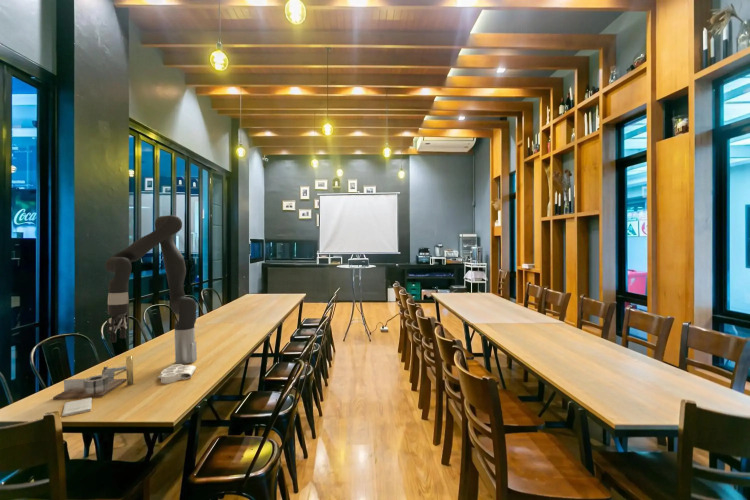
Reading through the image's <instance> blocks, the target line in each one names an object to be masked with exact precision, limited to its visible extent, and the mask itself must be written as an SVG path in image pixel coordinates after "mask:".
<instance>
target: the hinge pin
mask: <svg viewBox="0 0 750 500" xmlns="http://www.w3.org/2000/svg"><path fill="white" fill-rule="evenodd" d="M125 363H126V365H125V366H126V369H125V372H126V386H131V385H132V386H133V385H134V364H133V363H134V358H133V355H129V356H126V357H125Z"/></svg>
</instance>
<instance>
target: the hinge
mask: <svg viewBox="0 0 750 500" xmlns="http://www.w3.org/2000/svg"><path fill="white" fill-rule="evenodd" d="M114 374H115V373H114V369H111V370H109V371H107V372H105V373H104V374H102V373H101V374H98V375H96V374H95V375H92V376H89V377H86V378H69V379H67V378H66V379H64V380H63V391H64V392H80V391H84V393H85V394H94V393H100V392H103V391H106V390H107V389H109V383H110V382H111V381H113V380H114V379H115V377H114V376H115V375H114Z"/></svg>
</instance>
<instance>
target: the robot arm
mask: <svg viewBox="0 0 750 500" xmlns="http://www.w3.org/2000/svg"><path fill="white" fill-rule="evenodd" d="M182 227H183V222H182V219H181V218H180V217H179V216H177V215H173V214H171V215H161V216H158V217H157V218H156V220H155V222H154V228H155V230H153V231H152V232H150V233H148V234H145V235H144V236H142V237H140V238H138V239H137V240H135V241H134V242H132V243H131V244H129V246H127V247H126V248H125V249H122V250H121V251H119V252H117V253H115V254H113V255H112V256H111V257H109V258H108V259H107V260H106V261H105V265H104V268H105V270H106V272H109V273H111V274H114V276H113V279H110V280H109V281H108V293H107V294H108V295H107V315H109V316H111V318H106V332H105V333H107V334H109V342H110V343H111V344H112V343H113V344H114V343H116V342H117V331H118V329H119V339H125V338H126V337H127V334H126V333H127V331H126V330H127V329H128V328H129V323H130V321H129V320H130V319H129V316H130V315H129V288H128V287H129V280H130V277H131V273H132V267H133V265H132V262H133V263H134V262H137V261H138V260H140V259H142V257H144V256H145V255H146V254H148V253H149V252H150V251H151V250H153V248H155V247H156V246H157V245H160V249H161V253H162V257H163V265H164V269H165V274H166V280H167V285H168V288H169V289H168V291H169V304H170V305H169V306H170V308H171V311H172V313H174V314H175V315H178V321H177V322H176V323H174V327H173V328H174V357H175V358H174V362H175V364H182V365H187V364H193V363H195V361H197V359H198V357H197V355H198V354H197V353H198V352H197V341H195V339H196V337H195V336H196V334H195V331H196V330H195V324H196V321H197V303H196V301H195V299H193V298H191V297H186V294H185V290H184V283H185V279H186V275H187V267H186V261H185V259H184V256H183V254H182V252H181V251H180V250H179V248H178V247H177V246H176V244H175V240H174V235H176V234H177V233H179V232H180V231H181V230H182Z"/></svg>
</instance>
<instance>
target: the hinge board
mask: <svg viewBox="0 0 750 500" xmlns="http://www.w3.org/2000/svg"><path fill="white" fill-rule="evenodd" d="M126 382H127V378H114V380H113V381H111V382H110V383H109V389H107V390H106V391H103V392H100V393H94V394H85V393H84V391H80V392H64V390H63V391H62V392H59V393H57V394H56V395H54V396H52V400H53V401H55V400H72V399H86V398H103V397H105V396H106V395H107V394H109V393H110V392H112V391H113V390H115V389H116V388H118V387H119V386H121V385H122V384H124V383H126Z"/></svg>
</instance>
